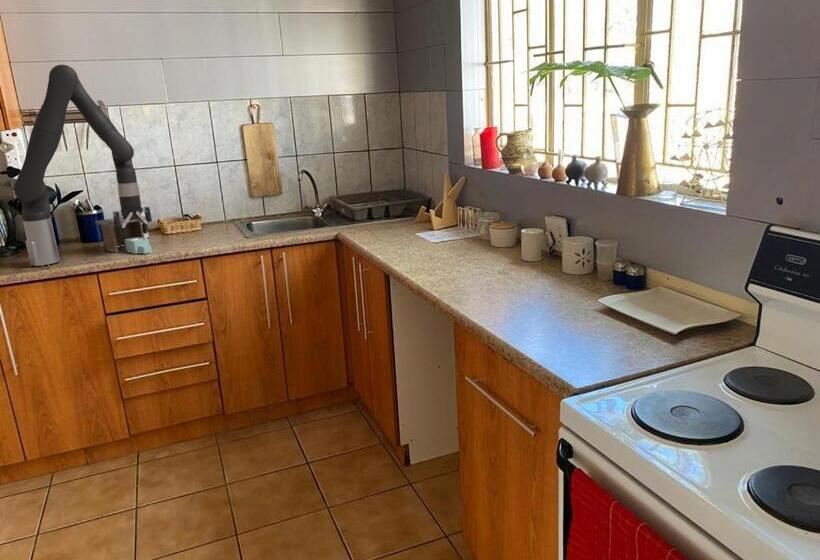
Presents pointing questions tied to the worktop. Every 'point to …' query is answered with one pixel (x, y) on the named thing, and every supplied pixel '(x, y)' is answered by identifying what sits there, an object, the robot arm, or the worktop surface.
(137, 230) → the shelf
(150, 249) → the caddy
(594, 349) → the worktop surface
